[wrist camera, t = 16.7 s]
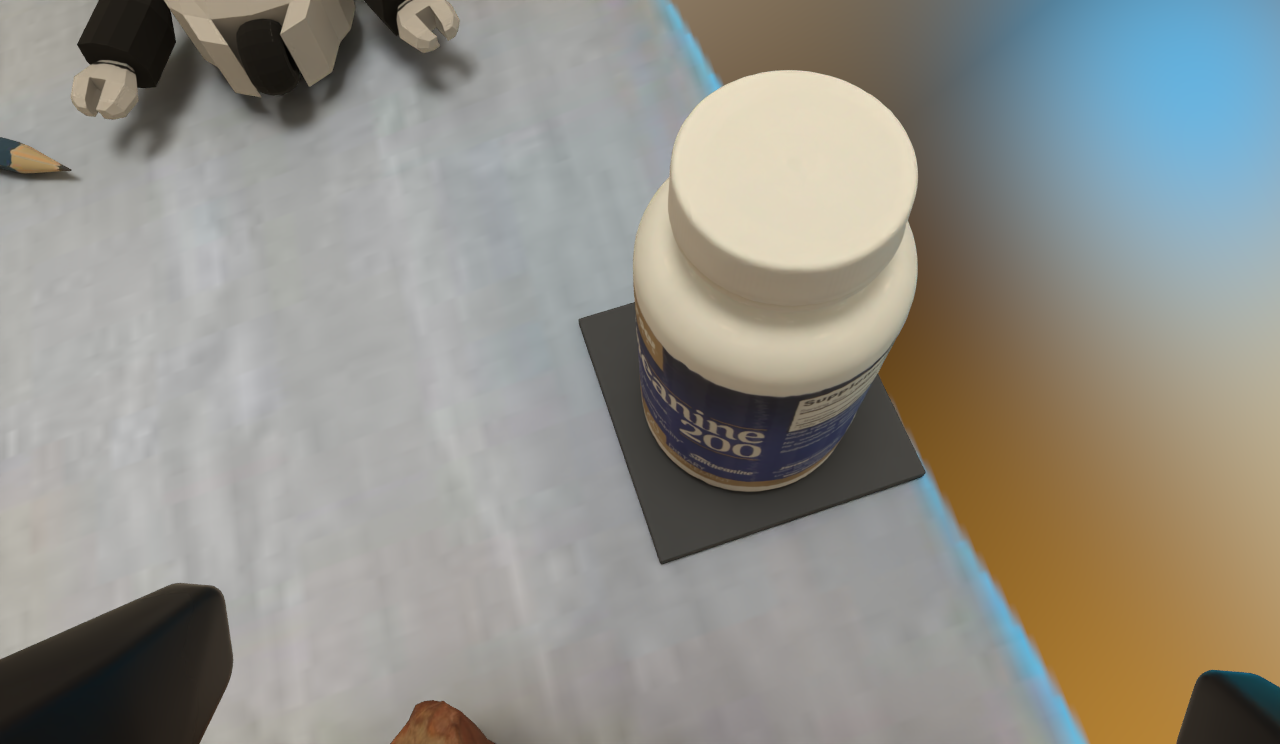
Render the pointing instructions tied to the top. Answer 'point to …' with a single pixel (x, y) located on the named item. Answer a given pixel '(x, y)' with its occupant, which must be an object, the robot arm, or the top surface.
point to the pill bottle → (772, 275)
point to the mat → (712, 515)
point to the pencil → (25, 159)
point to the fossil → (439, 726)
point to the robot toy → (233, 42)
